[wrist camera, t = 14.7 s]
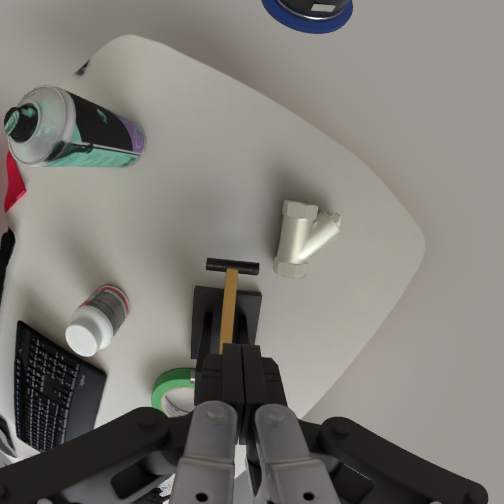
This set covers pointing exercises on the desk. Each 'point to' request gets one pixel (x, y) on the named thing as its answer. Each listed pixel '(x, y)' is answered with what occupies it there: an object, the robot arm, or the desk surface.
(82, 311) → the pill bottle
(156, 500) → the walkie-talkie
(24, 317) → the desk surface
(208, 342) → the black mounting base
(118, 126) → the spray can
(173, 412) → the tape roll
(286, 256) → the pipe fitting
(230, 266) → the faucet lever
